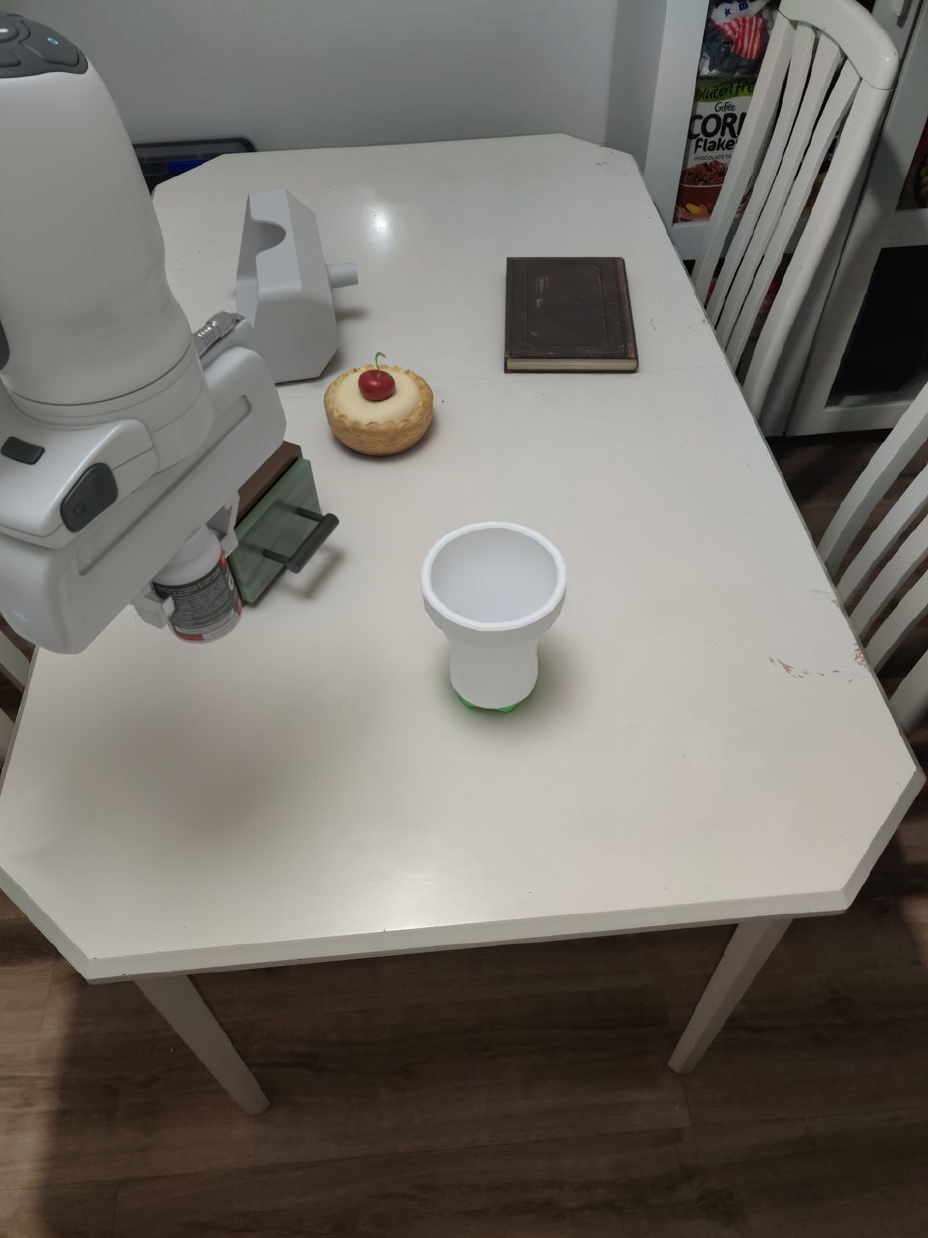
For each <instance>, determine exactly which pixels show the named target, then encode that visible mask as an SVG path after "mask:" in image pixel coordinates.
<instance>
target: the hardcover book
mask: <svg viewBox="0 0 928 1238" xmlns="http://www.w3.org/2000/svg"><path fill="white" fill-rule="evenodd" d="M626 266H627V265H626V260H625V258H623V257H622V256H506V269H505V271H506V272H505V304H504V306H505V309H504V344H503V345H504V346H503V347H504V349H503V361H504V363H503V374H504V373H505V374H506V373H508V374H509V373H510V374H512V373H513V374H514V373H515V374H518V373H519V374H527V373H528V374H532V373H533V374H634V373H635V372H636V371H638V369H639V364H640V359H639V353H638V352H639V351H638V345H637V337H636V330H635V324H634V323H635V322H634V317H633V308H632V302H631V295H630V288H629V280H628V273H627V267H626Z"/></svg>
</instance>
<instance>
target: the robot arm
mask: <svg viewBox="0 0 928 1238" xmlns="http://www.w3.org/2000/svg"><path fill="white" fill-rule="evenodd" d="M157 215H158V214H157V212H156V209H155V206H154V203H153V200H152V197H151V193H150V191H149V187H148V185H147V182H146V179H145V177H144V174H143V170H142V168H141V165H140V162H139V160H138V157H137V154H136V151H135V148H134V146H133V143H132V141H131V139H130V136H129V133H128V131H127V129H126V125H125V124H124V122H123V119H122V117H121V114H120V113H119V110H118V108H117V106H116V103H115V101H114V100H113V97H112V95H111V94H110V92H109V89H108V88H107V86H106V84H105V82H104V81H103V79H102V77H101V76H100V74H99V72H98V71H97V70H96V68H95V66H94V65H93V64H92V62H91V61H90V60H89V59H88V57H87V56H86V54H85V53H83V51H82V50H81V49H80V48H78V46H77V45H75V44H74V43H73V42H72V41H71V40H69V39H68V38H67V37H65V36H64V35H62V34H60V33H59V32H58V31H56V30H55V29H54V28H52V27H50V26H48V25H46V24H43V23H40V22H37V21H35V20H33V19H29V18H27V17H24V15H22V14H18V13H14V12H9V11H6V10H2V9H0V379H1V381H2V384H1V386H0V614H1V615H2V616H3V618H4V620H5V621H6V623H7V624H8V625H9V626H10V628H11V629H12V630H13V631H14V632H15V633H16V634H17V635H18V636H20V637H21V638H23V639H24V640H26V641H27V642H29V643H32V644H33V645H35V646H38V647H39V648H41V649H44V650H47V651H49V652H51V653H55V654H57V655H79V654H81V653H83V652H84V651H85V650H86V649H88V647H89V646H90V645H91V644H92V643H93V642H94V641H95V639H96V638H97V637H98V636H99V635H100V634H101V633H102V632H104V630H105V629H106V628H108V626H109V625H110V624H111V623H112V622H113V621H114V620H115V619H116V618H117V616H119V614H120V613H121V612H123V610H125V608H126V607H127V606H128V605H131V606H133V607H134V609H135V610H136V613H137V615H138V618H140V619H141V620H142V621H143V622H145V624H149V625H150V626H153V627H155V628H157V629H161V630H162V629H163V628H165V626H166V625H168V624H167V623H168V621H169V620H170V619H171V618H172V617H173V616H174V615H175V613H176V612H177V611H178V609H177V607H176V606H174V603H175V602H174V599H173V597H172V595H171V594H168V593H165V592H162V591H159V592H158V590H157V589H155V588H154V587H151V586H150V584H149V582H150V581H151V580H152V579H153V578H154V577H155V576H156V575H157V574H158V573H159V572H160V571H161V570H162V568H163V567H164V566H165V565H166V564H167V563H168V562H169V561H170V560H171V559H172V558H173V557H174V556H175V555H176V554H177V553H178V552H179V551H180V550H181V548H182V547H183V545H184V544H185V542H186V541H187V540H188V539H189V538H190V537H191V536H192V535H193V534H194V533H195V532H196V531H197V530H198V529H199V528H200V527H201V526H202V525H205V524H206V526H207V528H208V529H209V530H210V531H212V532H213V533H214V534H215V536H216V537H217V539H218V540H219V542H220V545H221V548H222V550H223V553H224V556H225V559H226V558H227V557H228V555H229V554H230V553H231V552H232V551H233V550H234V549H235V548H236V547H237V546H238V541H237V538H236V534H235V531H234V527H235V522H236V516H237V510H238V505H239V499H240V497H239V494H238V489H239V488H240V487H241V486H242V485H243V484H244V483H245V482H246V481H247V480H248V479H249V478H250V477H251V476H252V475H253V474H254V473H255V472H256V471H257V470H258V469H259V467H260V466H261V465H262V464H263V463H264V462H265V461H266V460H267V459H268V458H269V457H270V456H271V455H272V454H273V453H274V452H275V451H276V450H277V449H278V448H279V447H280V446H281V444H282V443H283V440H284V439H285V434H286V430H287V419H286V418H287V417H286V415H285V411H284V408H283V405H282V404H283V403H282V401H281V398H280V395H279V392H278V389H277V386H276V383H274V381H273V379H272V376H271V374H270V371H269V369H268V367H267V365H266V363H265V361H264V360H263V358H262V357H261V356H260V355H259V354H258V350H257V345H256V341H255V336H254V332H253V328H252V326H251V324H250V322H249V321H248V320H246V319H245V317H244V316H242V315H241V314H239V313H237V312H230V313H229V312H228V311H225V310H222V311H219V312H217V313H215V314H214V315H212V316H211V317H210V318H209V319H208V320H207V321H206V322H205V324H204V325H203V326H202V327H201V328H199V329H198V330H197V331H195V332H193V331H192V329H191V328H192V327H191V326H190V322H189V320H188V316H187V315H186V312H185V311H184V309H183V308H182V306H181V303H179V301H178V300H177V299H176V297H175V296H174V294H173V292H172V290H171V287H170V285H169V283H168V282H169V281H168V278H167V273H166V272H167V271H166V245H165V240H164V236H163V232H162V231H163V230H162V229H161V225H160V222H159V219H158V216H157ZM284 441H285V440H284Z"/></svg>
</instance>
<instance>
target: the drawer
mask: <svg viewBox="0 0 928 1238" xmlns="http://www.w3.org/2000/svg"><path fill="white" fill-rule="evenodd" d="M339 525H340V519H339V517H338V516H337V515H336V514H334V513H333V512H327V513H326V514H322V509H321V506H320V502H319V496H318V491H317V486H316V482H315V477H314V472H313V467H312V463H311V460H309V459H306V458H304V457H303V458H299V459H298V460H297V461H296V462H295V463H294V464H293V466H292V467H291V468H290V469H289V470H288V471H287V469H286V470H285V471H284V472H283V473H282V474H281V475H280V476H279V478H278V479H277V480H276V481H275V482H274V483H273V484H272V485H271V486H270V487H269V489H268V490H267V491H266V492H265V493H264V494H263V495H262V496H261V497H260V498H259V500H258V501H257V502H256V503H255V504H254V505H253V506H252V507H251V508H250V509H249V511H248V512H247V513H246V514H245V515H244V516H243V517H242V518H241V519H240V520H239V522H238V523H237V524H236V525H235V527H234V531H235V534H236V538H237V541H238V546H237V547H236V548H235V549H234V550H233V551H232V552H231V553H230V554H229V555H228V557H229V560H230V563H231V566H232V569H233V572H234V575H235V578H236V580H237V583H238V586H239V589H240V592H241V595H242V598H243V599H244V600H246V601H247V602H249V603H252V604H254V603H255V601H256V600H257V599H258V598H259V597H260V595H262V593H263V592H265V590H266V588H267V587H268V586H269V585H270V584H271V582H272V581H273V580H274V578H275V577H276V576H278V574H279V573H280V571H281V570H282V569H283V568H284V567H285V566H286V568H287V569H288V570H289V571H290V572H291V573H293V574H297V575H298V574H300V573H301V572H302V570H303V569H304V568H305V567H306V565H308V563H309V562H310V560H311V559H312V558H313V557H314V555H315V554H316V553H317V552H318V551H319V550H320V548H321V547H322V545H324V543H325V542H326V541H327V539H328V538H329V537H330V536H331V534H332V533H333V532H334V531H335V529H336V528H337V527H338V526H339Z"/></svg>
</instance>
